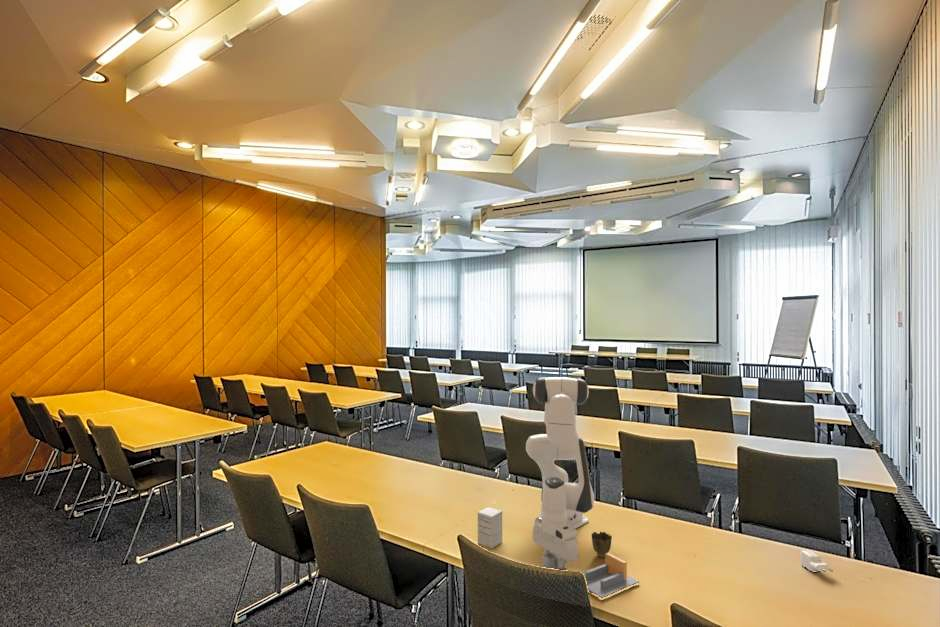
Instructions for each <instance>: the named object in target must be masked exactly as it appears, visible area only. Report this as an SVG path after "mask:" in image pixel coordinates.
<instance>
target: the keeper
mask: <svg viewBox="0 0 940 627" xmlns="http://www.w3.org/2000/svg"><path fill="white" fill-rule="evenodd" d="M627 563H628V561H626V560H623V559H621V557H617V556H615V555H614V554H612V553H610V552H608V553H606V557H605V563H604V564H602V565H599V566H596V567H594V568H591V569H588V570H585V572H583V573H582V574H584V576H585V578H586V581H587V586H588V590H589V592H590V593H594V594H596V595H598V596H599V597H601V598H603V597H606V596H608V595H610V594H613V593H615V592H617V591H619V590H622V589H624V588H626V587H628V586H631V585H634V584H636V583H639V584H640V581H639V580H637V579H635V578H634V577H632V576H630V575H627V571H628V570H627Z"/></svg>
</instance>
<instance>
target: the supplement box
mask: <svg viewBox="0 0 940 627" xmlns="http://www.w3.org/2000/svg"><path fill="white" fill-rule="evenodd" d="M502 543H503V510H500V509H496V508H493V507H490V506H487V507H486V508H484V509H481V510H479V511H477V544H478V545H481V546H483V547H487V548H489V549H493V548H495V547H497V546H499V545H501V544H502Z"/></svg>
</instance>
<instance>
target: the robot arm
mask: <svg viewBox="0 0 940 627" xmlns="http://www.w3.org/2000/svg"><path fill="white" fill-rule="evenodd" d="M589 393H590V391H589V386H588V383H587V382H586V380H584V379H582V378H573V377H569V376H568V377H566V376H559V377H558V376H552V377H551V376H549V377H545V376H541V377H537V378H536V379H535V381H534V384H533V386H532V394H533V397H534V400H535V401H536V402H537V403H539V404H541V405H542V407H544V419H543V422H544V425H545V427H546V428H545V431H546V433H539V434H533V435H530V436H528V438H527V440H526V442H525V451H526V453H527V455H528V456H529V457H530V459H532V460H533V461H534V463H536V464H537V466H538V467H539V469H540V472H541V473H540V474H541V479H542V481H541V483H542V488H541V498H540V499H541V507H540V508H541V509H540V513H539V516H538V517H536V518H535V520H534V524H533V529H532V540H533V542H534V543H535V544H538V545H539V546H541V547H542V548H543V550H544V551H543V552H544V555H545V554H548V553H551V552H552V553H554V554H556V555H557V556H558V559H559V560H558V561H556V566H557V567H558V568H560V567H562V562H563V560H566V563H567V562H568V563H573V562H576V561H577V559H578V558H579V544H578V539H577V537H578V534H579V533H578V530H577V529H578V528H579V527H581V526H583V525H585V524H588V523H589V519H588V518H587V517H586V516H585V515H584V514H586V513H588V512H589V511H590V510H592V509H593V508H594V504H595V494H594V489H593V487H592V483H591V482H592V481H591V473H590V468H589V462H588V461H589V460H588V455H587V454H588V453H587V450H586V443H585V441H584V439H583V437H581V436H580V435H579V434H578V433H577V428H576V426H577V424H576V423H577V421H576V407H575V405H576V406H580V405H584V404H585V403H587V400H588V398H589ZM572 460H574V461H575V462H576V470H577V475H578V476H577V477H578V482H569V475H568V473H567V471H566V470H565V469H564V468H562V467H560V466H558V465H556V464H555V461H572Z"/></svg>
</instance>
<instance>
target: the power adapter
mask: <svg viewBox="0 0 940 627" xmlns="http://www.w3.org/2000/svg"><path fill="white" fill-rule="evenodd" d="M799 558H800V566H801V565H803V566H804V567H806V568H807V569H809V570H811V571H819V570H821V571H822V572H824V573H827V570H828V571H830V573H833V572H834V570H833V569H832V568H830V566H829V565H828V564H827V563H826V562H823V561H822V558H821V556H820V555H818V554H817V553H815V552H814V551H812V550H810V549H808V550H806V549H804V550H801V551H800V557H799ZM804 567H803V568H804ZM807 569H806V570H807Z"/></svg>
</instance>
